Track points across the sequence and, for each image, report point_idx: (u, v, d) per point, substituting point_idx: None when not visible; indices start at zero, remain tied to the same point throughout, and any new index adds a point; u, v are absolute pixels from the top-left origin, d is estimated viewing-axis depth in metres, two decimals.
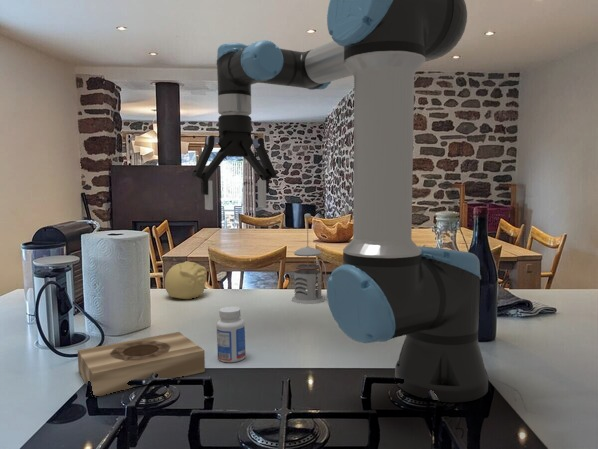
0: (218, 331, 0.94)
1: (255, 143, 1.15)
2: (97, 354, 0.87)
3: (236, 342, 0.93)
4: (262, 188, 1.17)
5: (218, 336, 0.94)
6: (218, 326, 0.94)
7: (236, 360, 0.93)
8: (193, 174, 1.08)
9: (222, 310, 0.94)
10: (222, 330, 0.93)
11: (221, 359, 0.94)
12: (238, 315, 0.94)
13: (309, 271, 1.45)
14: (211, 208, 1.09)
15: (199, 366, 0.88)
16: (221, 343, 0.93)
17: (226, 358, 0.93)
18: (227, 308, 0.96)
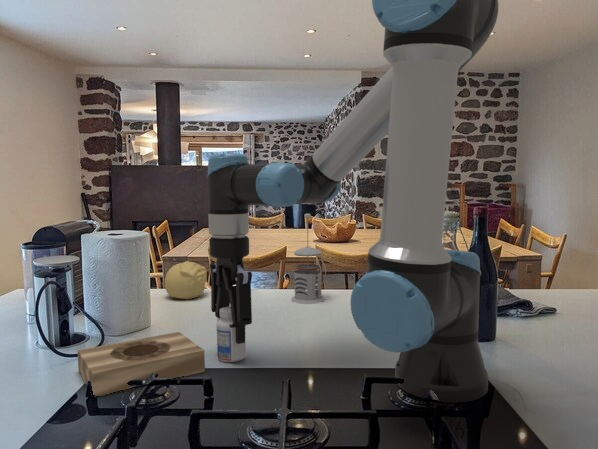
0: (218, 331, 0.94)
1: None
2: (97, 354, 0.87)
3: None
4: None
5: (218, 336, 0.94)
6: (218, 326, 0.94)
7: None
8: None
9: (222, 310, 0.94)
10: (222, 330, 0.93)
11: (221, 359, 0.94)
12: None
13: (309, 271, 1.45)
14: None
15: (199, 366, 0.88)
16: (221, 343, 0.93)
17: (226, 358, 0.93)
18: (227, 308, 0.96)
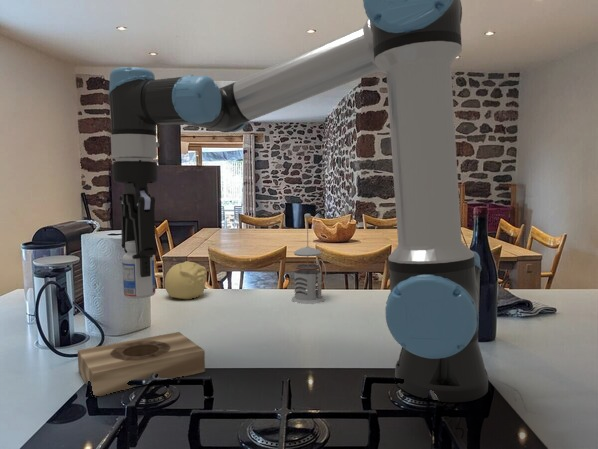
0: (123, 264, 0.86)
1: None
2: (97, 354, 0.87)
3: None
4: None
5: (123, 270, 0.86)
6: (123, 259, 0.86)
7: (142, 296, 0.86)
8: None
9: (128, 242, 0.86)
10: (127, 263, 0.85)
11: (126, 295, 0.86)
12: None
13: (309, 271, 1.45)
14: None
15: (199, 366, 0.88)
16: (126, 277, 0.85)
17: (131, 294, 0.85)
18: None
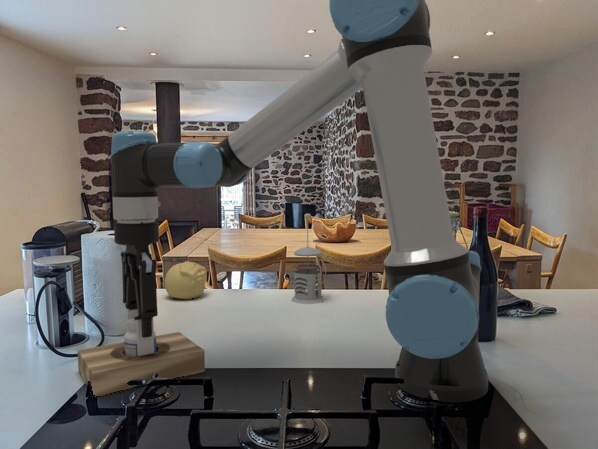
0: (125, 343, 0.87)
1: None
2: (97, 354, 0.87)
3: None
4: None
5: (125, 349, 0.87)
6: (125, 338, 0.87)
7: None
8: None
9: (130, 321, 0.88)
10: (129, 342, 0.86)
11: None
12: None
13: (309, 271, 1.45)
14: None
15: (199, 366, 0.88)
16: None
17: None
18: None
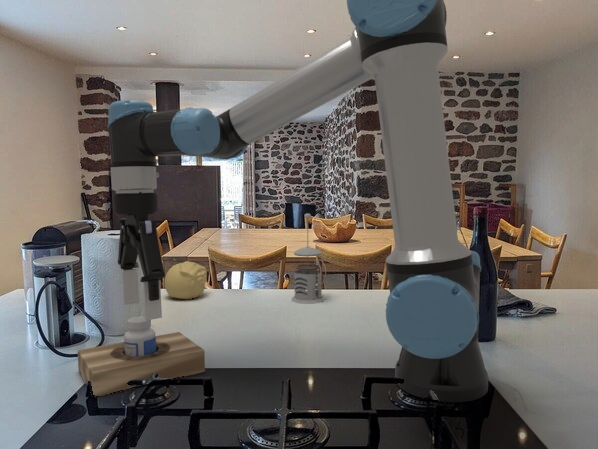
0: (125, 343, 0.87)
1: None
2: (97, 354, 0.87)
3: (144, 355, 0.87)
4: None
5: (125, 348, 0.87)
6: (125, 337, 0.87)
7: None
8: None
9: (130, 320, 0.88)
10: (129, 342, 0.86)
11: None
12: (147, 326, 0.88)
13: (309, 271, 1.45)
14: (124, 302, 0.93)
15: (199, 366, 0.88)
16: None
17: None
18: (136, 318, 0.89)
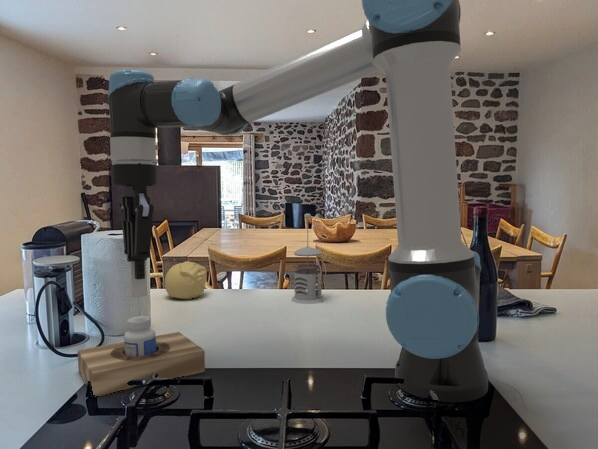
0: (125, 343, 0.87)
1: None
2: (97, 354, 0.87)
3: (144, 355, 0.87)
4: None
5: (125, 348, 0.87)
6: (125, 337, 0.87)
7: None
8: None
9: (130, 320, 0.88)
10: (129, 342, 0.86)
11: None
12: (147, 326, 0.88)
13: (309, 271, 1.45)
14: (130, 294, 0.88)
15: (199, 366, 0.88)
16: None
17: None
18: (136, 318, 0.89)
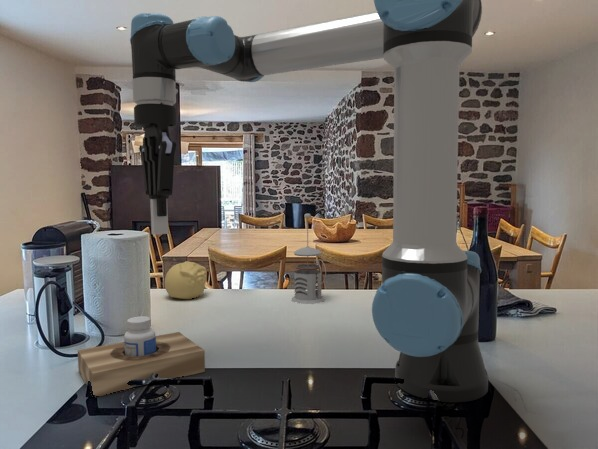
0: (125, 343, 0.87)
1: None
2: (97, 354, 0.87)
3: (144, 355, 0.87)
4: None
5: (125, 348, 0.87)
6: (125, 337, 0.87)
7: None
8: None
9: (130, 320, 0.88)
10: (129, 342, 0.86)
11: None
12: (147, 326, 0.88)
13: (309, 271, 1.45)
14: (152, 232, 0.91)
15: (199, 366, 0.88)
16: None
17: None
18: (136, 318, 0.89)
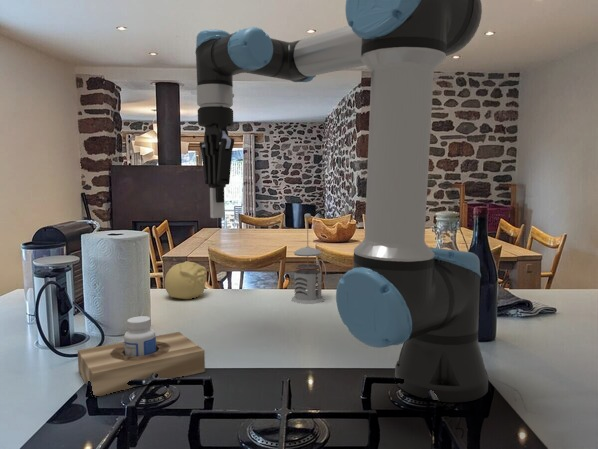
0: (125, 343, 0.87)
1: None
2: (97, 354, 0.87)
3: (144, 355, 0.87)
4: None
5: (125, 348, 0.87)
6: (125, 337, 0.87)
7: None
8: None
9: (130, 320, 0.88)
10: (129, 342, 0.86)
11: None
12: (147, 326, 0.88)
13: (309, 271, 1.45)
14: (211, 216, 1.07)
15: (199, 366, 0.88)
16: None
17: None
18: (136, 318, 0.89)
